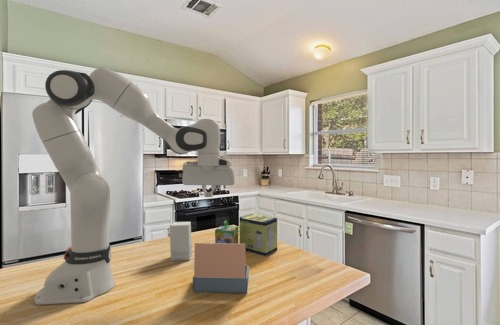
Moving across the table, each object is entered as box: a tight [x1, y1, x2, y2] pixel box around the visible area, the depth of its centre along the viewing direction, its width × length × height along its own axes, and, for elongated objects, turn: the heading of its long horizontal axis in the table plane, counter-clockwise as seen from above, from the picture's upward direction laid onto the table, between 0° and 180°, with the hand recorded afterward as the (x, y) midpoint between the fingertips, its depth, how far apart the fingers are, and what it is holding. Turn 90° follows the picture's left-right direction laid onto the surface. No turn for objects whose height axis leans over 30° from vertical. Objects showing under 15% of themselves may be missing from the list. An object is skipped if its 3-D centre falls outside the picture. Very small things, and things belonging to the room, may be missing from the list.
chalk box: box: [214, 219, 239, 244], centre depth 129 cm, size 9×9×15 cm
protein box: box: [239, 213, 278, 257], centre depth 133 cm, size 10×16×16 cm
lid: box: [193, 242, 246, 278], centre depth 91 cm, size 17×11×1 cm
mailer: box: [192, 264, 250, 294], centre depth 97 cm, size 18×11×5 cm, turn 88°
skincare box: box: [169, 221, 193, 262], centre depth 122 cm, size 8×7×16 cm
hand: (208, 197), depth 107 cm, fingers closed
